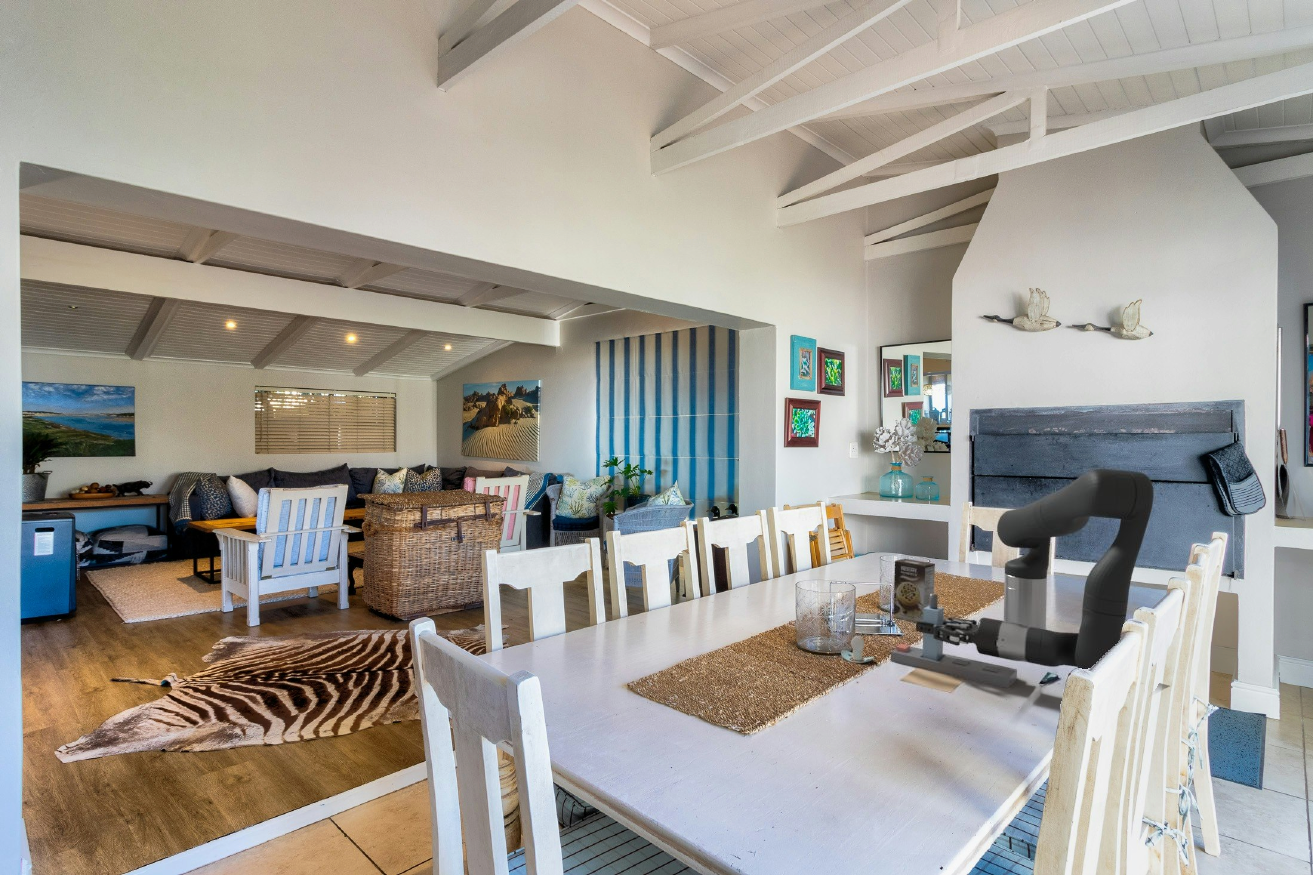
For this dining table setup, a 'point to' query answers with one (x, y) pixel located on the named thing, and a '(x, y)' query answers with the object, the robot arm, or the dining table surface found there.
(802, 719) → the dining table surface
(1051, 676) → the teal triangular wedge
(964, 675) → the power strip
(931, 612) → the blue-grey pegged block
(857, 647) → the pacifier
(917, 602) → the coffee box
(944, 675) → the coaster
